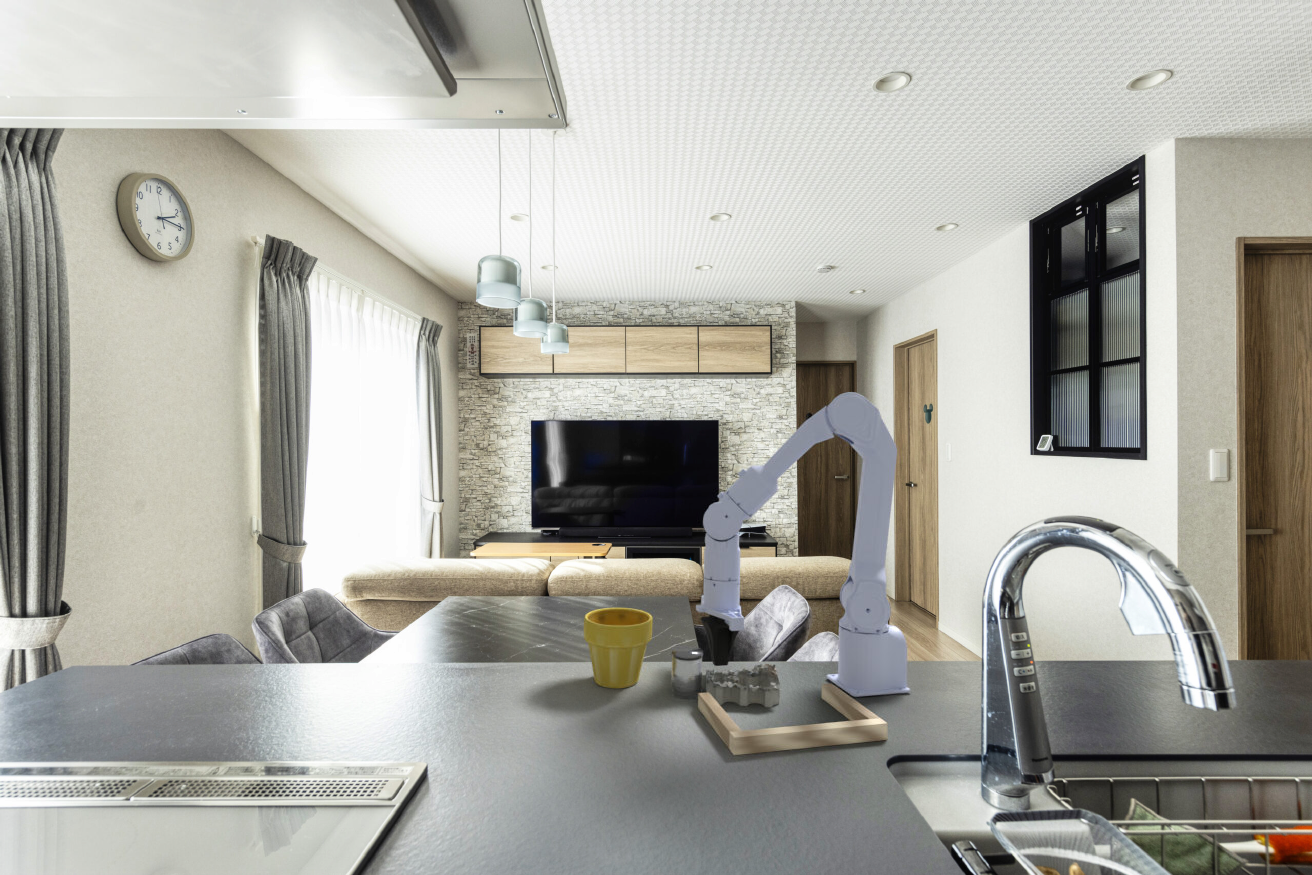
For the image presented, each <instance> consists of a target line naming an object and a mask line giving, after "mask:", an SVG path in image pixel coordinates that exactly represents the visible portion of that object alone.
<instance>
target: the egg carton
mask: <svg viewBox="0 0 1312 875" xmlns="http://www.w3.org/2000/svg"><path fill="white" fill-rule="evenodd" d="M778 676H779V675H778V671H777V667H776V664H769V663H765V664H762V663H761V664H758V665H754V667H753V669H751V668H745V667H744V668H743V669H740V670H739V669H738V670H733V669H727V670H726V669H724V670H722V671H716V672H715V670H714V669H713V670H710V669H706V672H705V681H706V693H707V692H709V693H710V694H711V695H712V697H713V698H714V699H715V700H716V701H717V702H718V704H719V705H720V706H721V705H724V704H725V703H736V704H737V705H738V706H740V707H741V706H742V707H743V706H744V707H747V706H748V705H750V704H759V705H762V706H763V707H765V708H773V707H774V705H776V706H777V705H780V702H781V700H780V698H781V694H780V691H781V690H782V688H781V683H780V681H779V680H780V679H779V677H778Z"/></svg>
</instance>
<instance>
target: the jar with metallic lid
mask: <svg viewBox="0 0 1312 875" xmlns="http://www.w3.org/2000/svg"><path fill="white" fill-rule="evenodd" d="M670 651H671V652H670V653H671V654H670V655H671V684H670V685H671V688H670V689H671V691H670V692H671V695H672V696H673V697H675V698H678V699H682V700H683V699H684V700H692V699H698V693H703V688H702V687H703V657H704V650H703V649H702V648H700V647H699V646H696V645H695V646H694V645H676V646H674V647H672V648H671V650H670Z"/></svg>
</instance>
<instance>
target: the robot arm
mask: <svg viewBox="0 0 1312 875" xmlns="http://www.w3.org/2000/svg"><path fill="white" fill-rule="evenodd" d="M835 436H837V437H839V438H840V439H842V440H844V441H845V442H847V443H849V445H850V446H851V447H852V449H853V450H855V452H857V454H858V455H859V456H860V457H861V459H862V465H861V472H860V473H861V474H860V483H859V490H858V491H859V492H858V500H857V502H858V503H857V510H856V520H855V528H854V538H853V546H852V554H851V555H852V557H851V561H850V564H849V568H848V573H847V574H848V575H847V578H846V581H845V582H844V583H843V585H842V586H841V588H840V590H839V600H840V603H841V605H842V607H843V609H844V614H843V616H842V617H841V618H840V619H839V620H838V657H837V658H838V659H837V660H838V661H837V662H838V664H837V667H838V668H837V669H838V670H837V673H835V674H833V673H831V674H830V673H829V674H827V675H826V678H827V680H829V681H830V682H831V683H832V684H833V683H834V684H835V686H837V687H838V688H839V689H840V688H841V690H842V691H843V690H844V691H845V693H848V694H849V696H852V697H855V698H857V697H869V696H882V695H892V694H905V693H911V689H910V688H909V687H908V685H907V684H908V645H907V641H906V638H905V635H904V634H903V631H901V629H900V628H899V627H898V626H895V625H892V624H891V625H890V624H889V623H888V621H889V619H890V617H891V610H892V609H891V604H890V601H889V600H888V597H887V575H886V560H887V559H886V557H887V548H888V539H889V532H890V521H891V513H892V512H891V511H892V502H893V495H894V483H895V474H896V468H897V467H896V465H897V459H898V458H897V456H898V447H897V444H896V443H895V442H896V441H894V438H893V437H892V435H891V433H890V431H889V429H888V428H887V426H886V423H885V422H884V420H883V418H882V415H881V412H880V410H879V408H878V407H877V406H875V404H873V403H872V402H871V400H868V398H866V396H864V395H862V394H861V393H858V392H853V391H851V392H844V393H841V394H839V395H837V396H836V397H835V398H834V399H833V400H832V401H831V402H830V403H829V404H828V405H827V406H826V405H825V406H824V407H822V408H821V409H820V410H818V411H817V412H816V413H814V414H813V415H812V416H811V417H809V418H808V419H806V420H805V421H804V422H803V423H802V424H801V425H800V426H799V428H797V430H795V432H794V433H793V434H791V436H790V437H788V439H787V440H786V441H785V442H784V443H783V444H782V445H781V447H780V448H779V449H778V450H776V452H774V454H773V455H772V456H771V457H770V458H769V459H768V460H766V462H765V463H764V464H762V465H757V464H756V465H750V466H749V467H748V468H747V469H745V468H742V469H741V470H740V471H739V472H738V473H737V475H738V476H739V477H738V478H737V479H736V481H734V482H733V483H732V484H731V485H730V486H729V487H728V488H727V490H726V491H725V492H723V491H720V493H719V494H717V498H718V500H720V501H717V502H713V503H711V504H710V505H709V506H708V508H707V509H706V511H704V514H703V519H702V526H703V528H704V531H705V532H706V533H705V537H704V543H705V547H704V548H703V553H704V554H703V594H702V595H701V597H700V598H701V599H700V604H696V605H695V611H697V613H706V614H707V615H708V616H702V617H700V622H701V625H702V626H703V629H704V631H705V634H706V637H707V641H708V646H709V652H710V658H711V662H712V664H713V665H714V666H715V667H721V666H722V667H724V666H728V665H729V661H730V659H731V654H732V649H733V646H734V643H735V640H736V638H737V637H738V634H739V632H740V631H744V630H745V617H744V616H743V615H742V607H741V605H740V602H741V600H740V599H741V597H740V594H741V592H740V591H741V587H740V586H741V548H740V533H739V532H740V530H741V528H742V525H743V522H744V520H750V519H751V518H752V517H754V515H756V514H757V512H758V511H760V510H761V509H762V507H763V506H765V505H766V503H768V502H769V501H770V500H771V498H772V497H774V496H775V494H777V492H778V489H779V486H778V480H779V478H781V476H783V474H785V473H786V471H788V470H789V469H790V468H791V466H793V465H794V464H795V463H796V462H797V461H798V460H799V459H800V458H801V457H803V455H805V454H806V453H807V452H808V451H809V450H810V449H811V448H812V447H813V446H814V445H816V444H818V443H821V442H825V441H827V440H830V439H833V438H835Z"/></svg>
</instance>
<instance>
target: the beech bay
mask: <svg viewBox="0 0 1312 875" xmlns="http://www.w3.org/2000/svg"><path fill="white" fill-rule="evenodd" d="M821 699H822V700H824V702H826V703H827V704H829V705H830V706H831V707H833V708H834V709H835V710H836V711H838V712H839V713H840V714H841V715H843V717H845V718H847V719H848V720H845V721H835V722H825V723H823V722H822V723H813V724H803V725H802V724H801V725H793V726H792V725H790V726H779V727H768V728H759V729H746V730H745V729H744V730H742V729H741V728H740V727H739V726H738V725H737V724H736V723H735V721H734V720H733V719H732V717H730V715H729V714H728V713H727V712H726V711H725V709H724V708H723V707H722V706H721V705H719V704H718V702H717V701H716V700H715V699H714V698H713V697H712V695H711V694H710V693H709V692H707V691H706V692H702V693H698V698H697V700H698V702H697V708H698V710H699V712H701V714H702V715H703V717H704V718H705V720H706V721H707V722H708V723H709V725H710V726H711V727H712V728H713V729H714V731H715V732H716V734H717V735H718V736H719V738H720V739H721V741H722V742H723V744H725V746H726V747H727V748H728V749H729V751H730V752H731V753H732V755H733V756H740V755H741V756H742V755H749V754H760V753H770V752H778V751H779V752H780V751H787V750H799V749H808V748H820V747H827V746H829V747H830V746H838V745H839V746H840V745H849V744H858V743H866V742H867V743H868V742H869V743H870V742H876V741H877V742H878V741H887V740H888V727H889V726H888V724H889V723H888V722H886V721H885V720H884V719H882V718H881V717H879V716H878V715H877V714H875V713H874V712H873V711H871V710H869V708H866V706H864V705H862V703H860V702H859V701H857V700H856V699H854V698H853V697H851V695H850V694H849V695H848V694H847V692H844V691H843V689H840V687H838V686H837V685H836V684H835V685H834V684H833V682H830V683H821Z"/></svg>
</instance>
